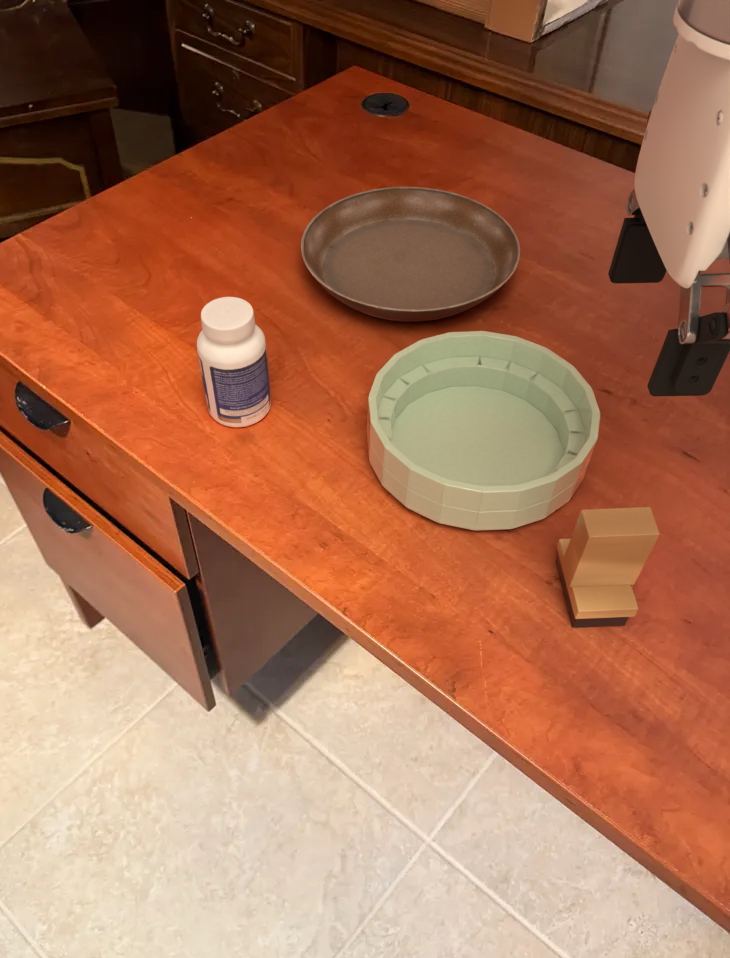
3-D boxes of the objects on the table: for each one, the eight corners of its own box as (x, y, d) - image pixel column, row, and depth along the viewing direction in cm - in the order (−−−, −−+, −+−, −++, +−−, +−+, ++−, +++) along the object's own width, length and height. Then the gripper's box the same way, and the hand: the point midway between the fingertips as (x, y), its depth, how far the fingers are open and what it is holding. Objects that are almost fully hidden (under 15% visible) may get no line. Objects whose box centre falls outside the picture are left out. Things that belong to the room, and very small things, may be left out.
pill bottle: (284, 405, 70) (277, 310, 62) (238, 439, 67) (225, 345, 60) (240, 376, 72) (228, 281, 64) (194, 408, 70) (176, 313, 62)
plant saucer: (333, 200, 88) (333, 171, 86) (527, 228, 85) (533, 197, 82) (275, 320, 77) (272, 289, 74) (497, 357, 73) (503, 327, 70)
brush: (549, 559, 60) (574, 486, 53) (609, 556, 60) (642, 483, 53) (567, 631, 56) (596, 562, 50) (631, 628, 56) (669, 559, 50)
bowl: (558, 373, 72) (571, 327, 68) (607, 530, 61) (625, 486, 57) (360, 381, 71) (361, 335, 67) (375, 539, 61) (378, 496, 57)
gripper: (980, 88, 28) (771, 443, 41) (800, -87, 38) (680, 242, 52) (755, 93, 28) (621, 445, 41) (636, -83, 38) (560, 245, 52)
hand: (654, 332), depth 47 cm, fingers open, 9 cm apart
